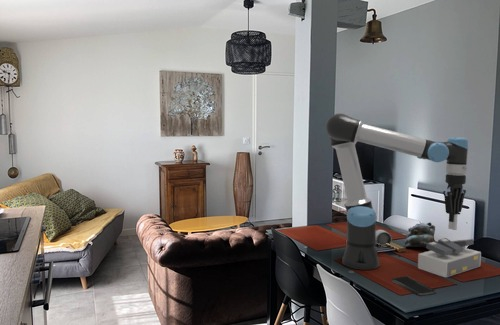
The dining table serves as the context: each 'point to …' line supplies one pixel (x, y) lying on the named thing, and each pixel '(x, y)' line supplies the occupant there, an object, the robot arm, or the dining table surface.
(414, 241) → the lucky cat figurine
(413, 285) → the phone
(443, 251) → the block
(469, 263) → the switch unit
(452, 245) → the rocker
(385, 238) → the ceramic mug
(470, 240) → the rocker
